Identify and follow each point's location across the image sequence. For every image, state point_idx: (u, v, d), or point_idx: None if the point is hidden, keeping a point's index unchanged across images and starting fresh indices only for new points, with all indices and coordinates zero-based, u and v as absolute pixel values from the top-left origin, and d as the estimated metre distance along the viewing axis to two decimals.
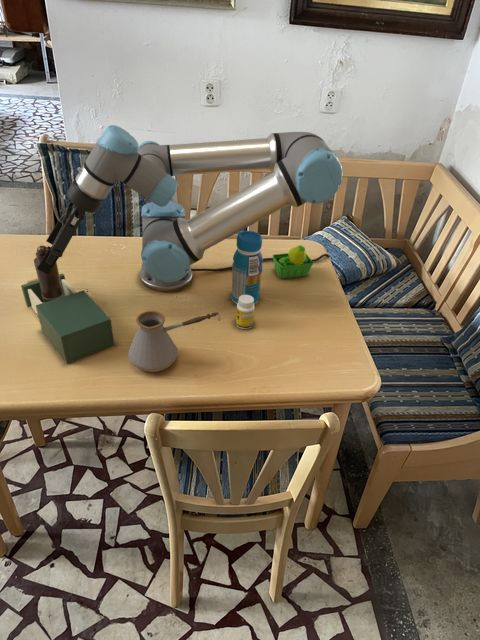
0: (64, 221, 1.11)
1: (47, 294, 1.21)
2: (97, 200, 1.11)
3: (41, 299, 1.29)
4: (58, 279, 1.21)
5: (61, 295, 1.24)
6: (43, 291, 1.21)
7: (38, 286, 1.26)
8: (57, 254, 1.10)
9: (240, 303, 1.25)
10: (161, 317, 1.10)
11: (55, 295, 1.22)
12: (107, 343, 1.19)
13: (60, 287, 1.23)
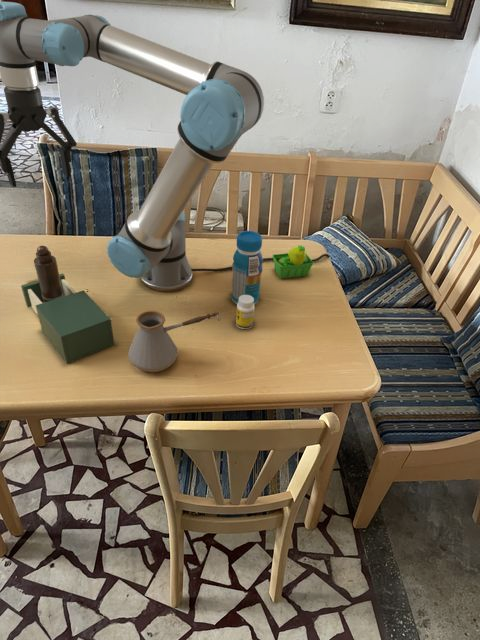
0: (11, 126, 1.13)
1: (47, 294, 1.21)
2: (14, 91, 1.07)
3: (41, 299, 1.29)
4: (58, 279, 1.21)
5: (61, 295, 1.24)
6: (43, 291, 1.21)
7: (38, 286, 1.26)
8: None
9: (240, 303, 1.25)
10: (161, 317, 1.10)
11: (55, 295, 1.22)
12: (107, 343, 1.19)
13: (60, 287, 1.23)
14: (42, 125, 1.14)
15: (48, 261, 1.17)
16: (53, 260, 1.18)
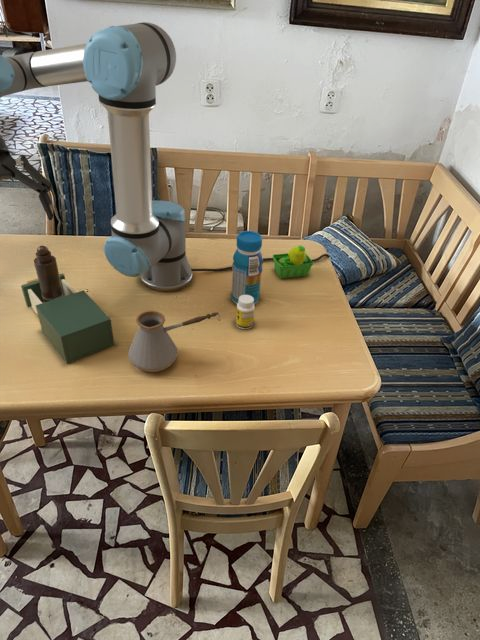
0: None
1: (47, 294, 1.21)
2: None
3: (41, 299, 1.29)
4: (58, 279, 1.21)
5: (61, 295, 1.24)
6: (43, 291, 1.21)
7: (38, 286, 1.26)
8: None
9: (240, 303, 1.25)
10: (161, 317, 1.10)
11: (55, 295, 1.22)
12: (107, 343, 1.19)
13: (60, 287, 1.23)
14: (12, 169, 1.19)
15: (48, 261, 1.17)
16: (53, 260, 1.18)
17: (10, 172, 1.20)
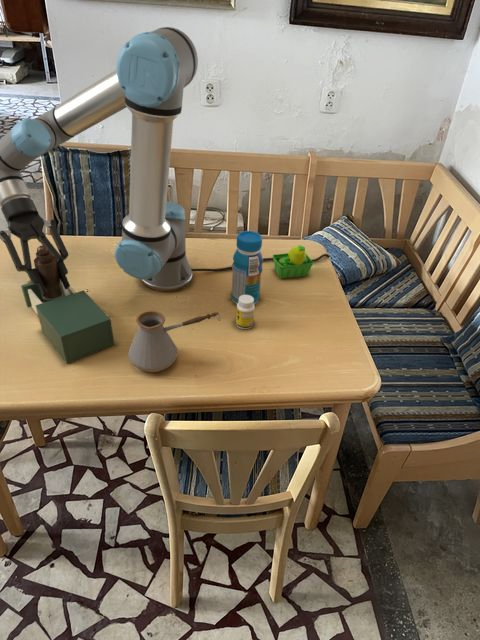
0: None
1: (47, 294, 1.21)
2: (7, 202, 1.15)
3: (41, 299, 1.29)
4: (58, 279, 1.21)
5: (61, 295, 1.24)
6: None
7: None
8: (17, 268, 1.16)
9: (240, 303, 1.25)
10: (161, 317, 1.10)
11: (55, 295, 1.22)
12: (107, 343, 1.19)
13: (60, 287, 1.23)
14: (38, 230, 1.19)
15: (48, 261, 1.17)
16: (53, 260, 1.18)
17: None
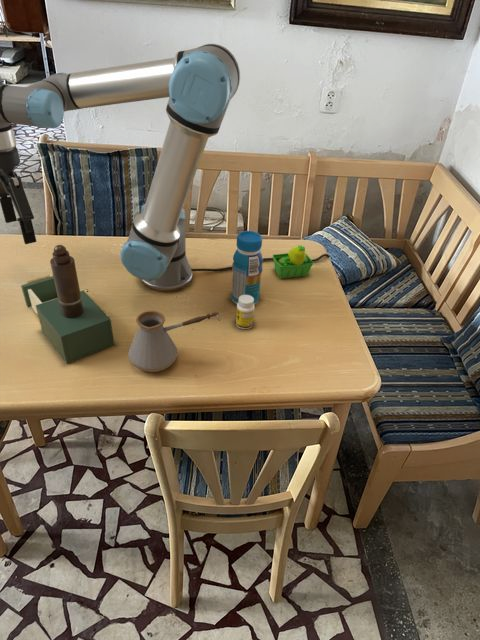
0: (8, 189, 1.15)
1: (64, 298, 1.11)
2: (13, 150, 1.12)
3: (41, 299, 1.29)
4: (76, 282, 1.10)
5: (79, 299, 1.13)
6: (60, 295, 1.10)
7: (38, 286, 1.26)
8: (30, 218, 1.15)
9: (240, 303, 1.25)
10: (161, 317, 1.10)
11: (73, 299, 1.11)
12: (107, 343, 1.19)
13: (78, 290, 1.12)
14: None
15: (66, 262, 1.06)
16: (71, 261, 1.07)
17: None
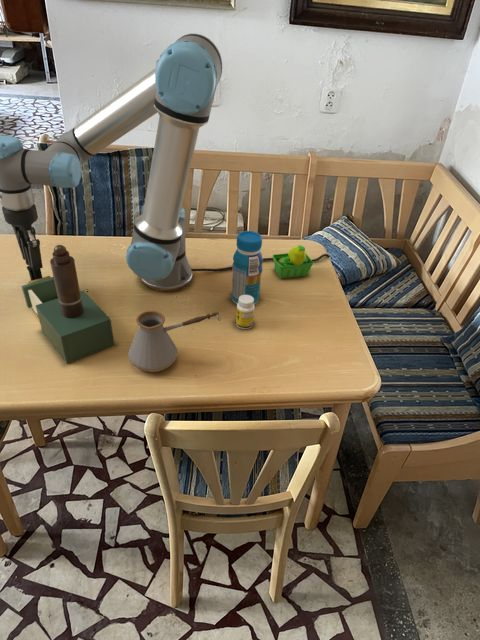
0: (24, 244, 1.22)
1: (64, 298, 1.11)
2: (31, 207, 1.18)
3: (42, 300, 1.28)
4: (76, 282, 1.10)
5: (79, 299, 1.13)
6: (60, 295, 1.10)
7: (39, 287, 1.26)
8: (39, 267, 1.26)
9: (240, 303, 1.25)
10: (161, 317, 1.10)
11: (73, 299, 1.11)
12: (107, 343, 1.19)
13: (78, 290, 1.12)
14: None
15: (66, 262, 1.06)
16: (71, 261, 1.07)
17: None
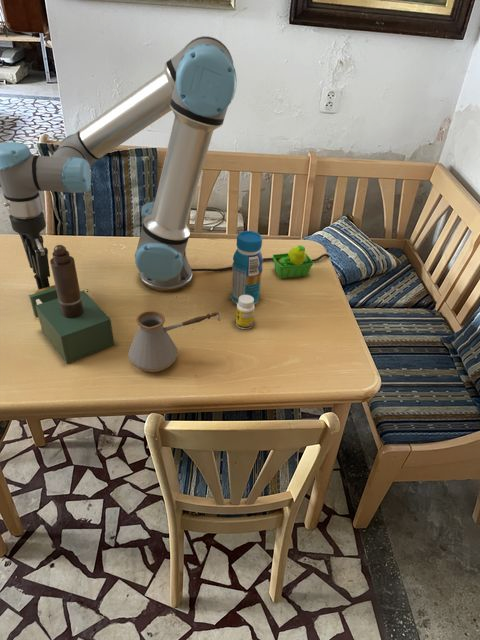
0: (32, 253, 1.20)
1: (64, 298, 1.11)
2: (39, 215, 1.15)
3: None
4: (76, 282, 1.10)
5: (79, 299, 1.13)
6: (60, 295, 1.10)
7: (46, 296, 1.23)
8: (46, 276, 1.24)
9: (240, 303, 1.25)
10: (161, 317, 1.10)
11: (73, 299, 1.11)
12: (107, 343, 1.19)
13: (78, 290, 1.12)
14: None
15: (66, 262, 1.06)
16: (71, 261, 1.07)
17: None
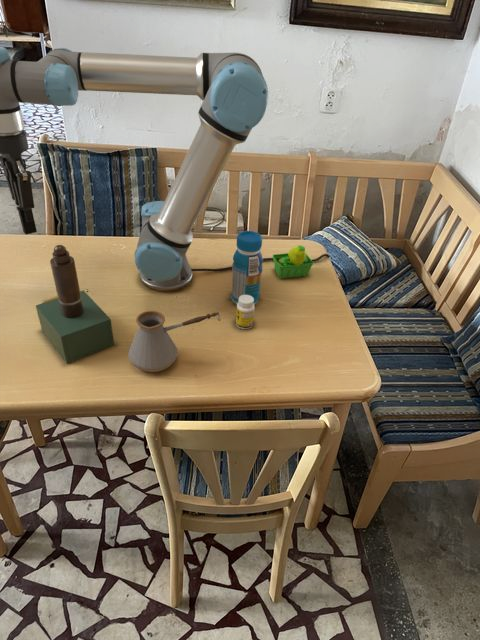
0: (13, 179, 1.08)
1: (64, 298, 1.11)
2: (21, 134, 1.04)
3: None
4: (76, 282, 1.10)
5: (79, 299, 1.13)
6: (60, 295, 1.10)
7: None
8: (30, 207, 1.12)
9: (240, 303, 1.25)
10: (161, 317, 1.10)
11: (73, 299, 1.11)
12: (107, 343, 1.19)
13: (78, 290, 1.12)
14: None
15: (66, 262, 1.06)
16: (71, 261, 1.07)
17: None
